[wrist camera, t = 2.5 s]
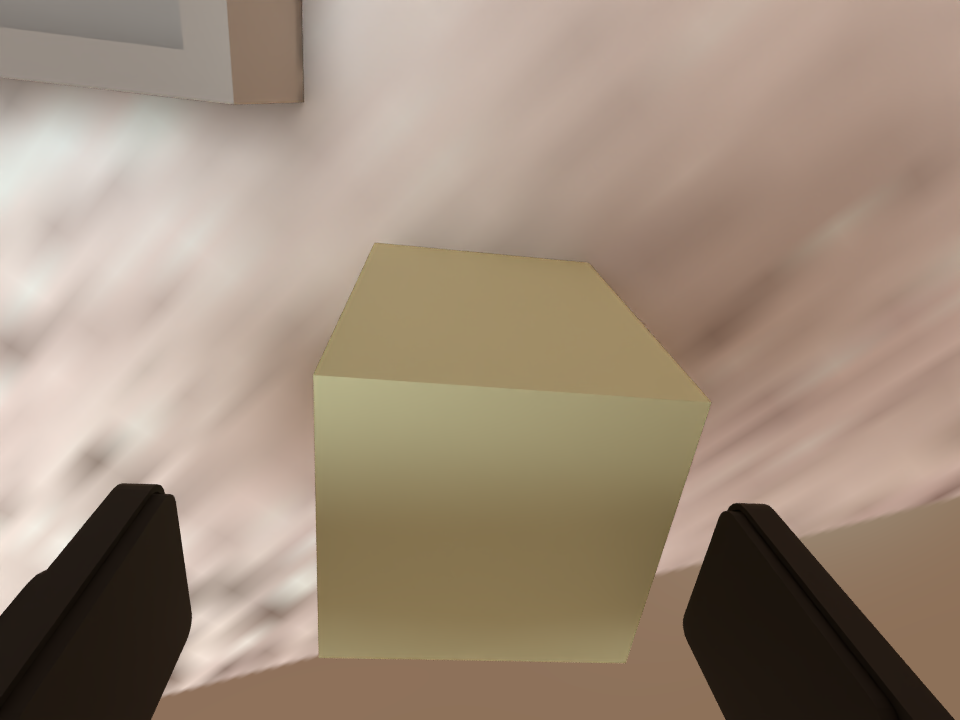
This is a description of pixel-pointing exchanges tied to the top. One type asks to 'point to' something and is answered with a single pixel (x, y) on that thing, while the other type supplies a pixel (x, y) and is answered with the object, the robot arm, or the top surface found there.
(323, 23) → the top surface
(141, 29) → the tub
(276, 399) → the top surface
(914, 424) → the top surface
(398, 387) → the pale yellow block
